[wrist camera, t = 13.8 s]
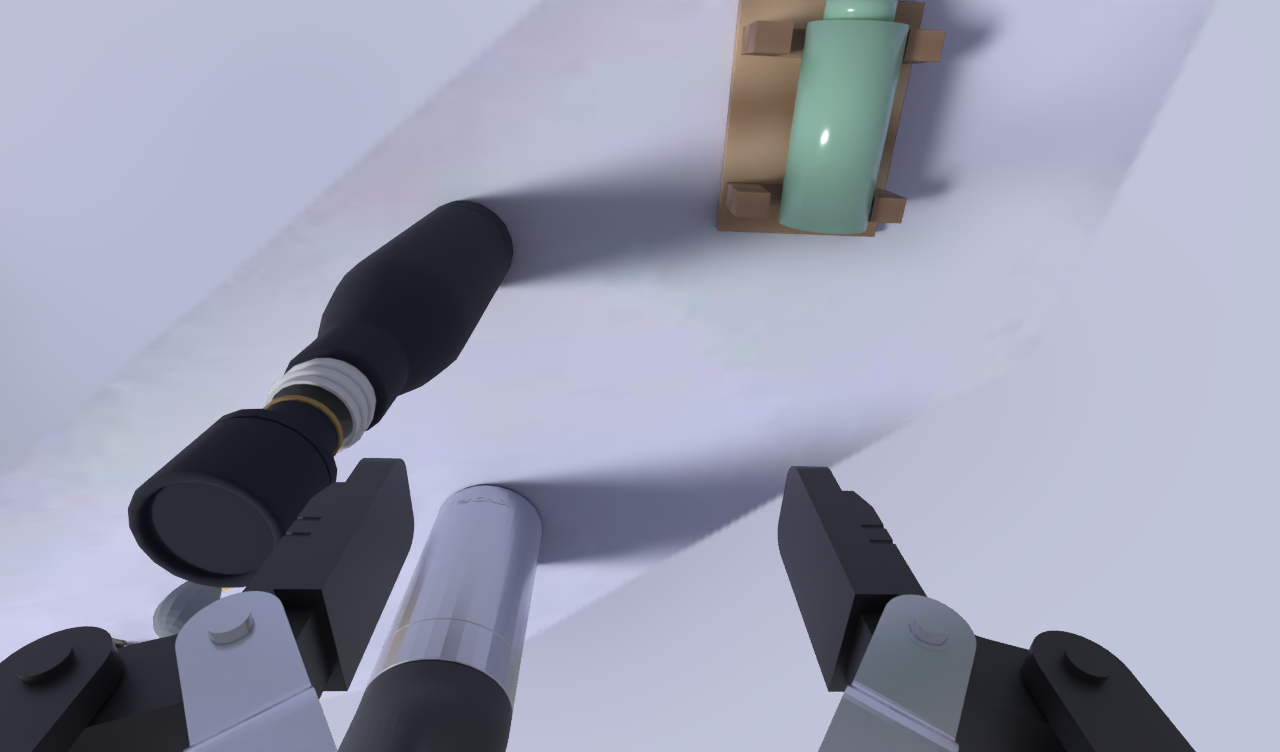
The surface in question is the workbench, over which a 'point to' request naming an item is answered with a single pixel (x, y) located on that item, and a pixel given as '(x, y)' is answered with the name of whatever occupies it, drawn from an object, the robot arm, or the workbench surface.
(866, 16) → the green bottle
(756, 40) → the u rest
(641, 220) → the workbench surface
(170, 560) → the wine bottle
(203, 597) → the rubber stamp
